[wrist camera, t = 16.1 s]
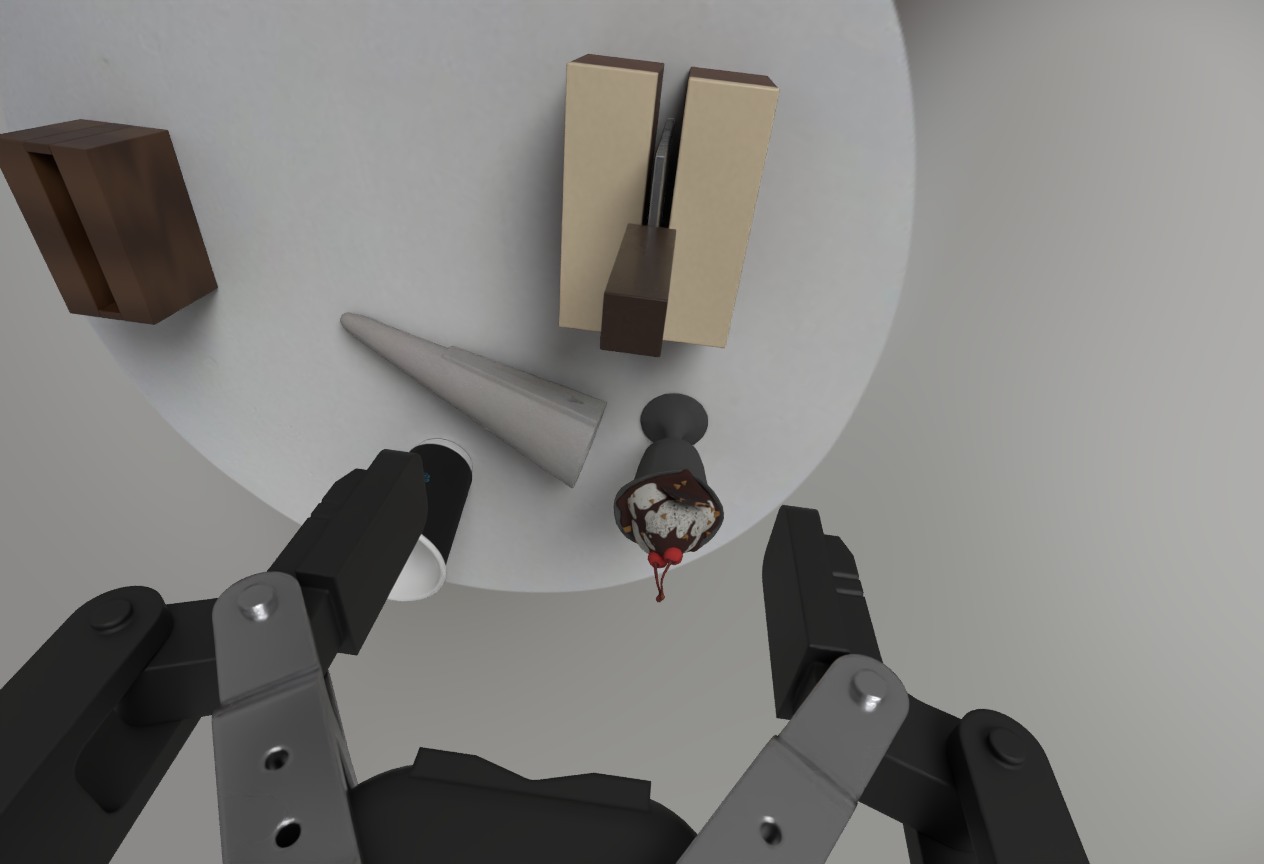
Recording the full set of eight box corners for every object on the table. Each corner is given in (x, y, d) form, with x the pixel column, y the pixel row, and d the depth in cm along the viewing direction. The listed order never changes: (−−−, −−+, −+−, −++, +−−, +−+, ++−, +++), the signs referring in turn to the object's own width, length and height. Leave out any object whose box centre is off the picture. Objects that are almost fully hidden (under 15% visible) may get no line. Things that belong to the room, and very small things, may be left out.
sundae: (655, 468, 48) (639, 628, 35) (614, 402, 44) (581, 553, 32) (734, 440, 45) (745, 601, 33) (696, 369, 42) (694, 518, 30)
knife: (651, 116, 33) (610, 203, 19) (690, 121, 33) (680, 213, 19) (636, 257, 38) (594, 416, 23) (671, 262, 38) (650, 424, 23)
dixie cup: (454, 513, 53) (404, 617, 44) (377, 458, 50) (306, 557, 41) (511, 466, 49) (468, 570, 40) (430, 404, 46) (365, 500, 37)
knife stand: (80, 118, 36) (-16, 136, 32) (168, 129, 36) (85, 149, 31) (142, 277, 42) (69, 313, 37) (218, 287, 42) (154, 325, 37)
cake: (587, 53, 32) (566, 62, 27) (768, 76, 32) (780, 89, 27) (576, 286, 40) (558, 326, 35) (722, 306, 39) (725, 349, 34)
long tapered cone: (308, 402, 42) (566, 504, 42) (317, 319, 39) (594, 429, 39) (354, 373, 47) (584, 464, 48) (365, 297, 44) (610, 394, 45)
